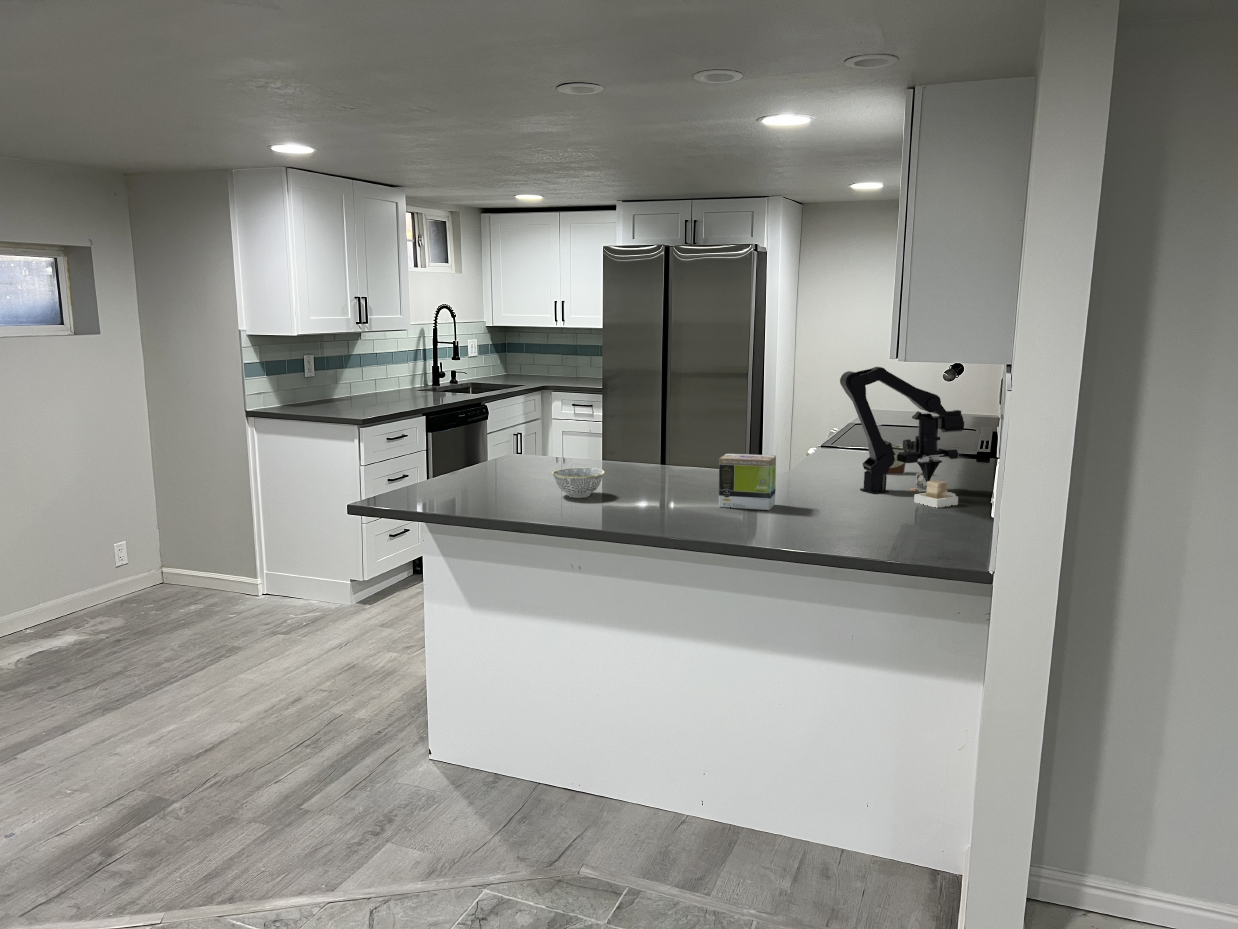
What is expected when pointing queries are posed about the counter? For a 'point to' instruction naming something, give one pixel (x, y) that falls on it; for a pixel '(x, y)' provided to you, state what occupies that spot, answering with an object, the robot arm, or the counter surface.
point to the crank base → (947, 492)
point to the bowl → (578, 480)
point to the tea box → (747, 481)
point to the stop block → (936, 489)
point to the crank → (920, 481)
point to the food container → (897, 465)
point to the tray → (936, 500)
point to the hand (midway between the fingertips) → (927, 482)
